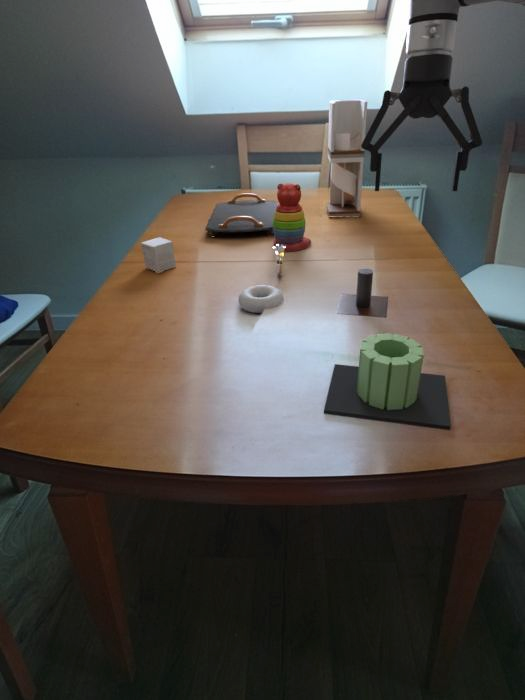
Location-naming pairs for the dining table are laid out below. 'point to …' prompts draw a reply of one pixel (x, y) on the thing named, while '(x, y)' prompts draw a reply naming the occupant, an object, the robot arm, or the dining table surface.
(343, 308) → the stacking stand
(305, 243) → the stacking bear
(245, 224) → the serving tray
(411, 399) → the sage ring
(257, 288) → the donut
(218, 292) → the dining table surface
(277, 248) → the ring
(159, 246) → the product box
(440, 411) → the rubber mat
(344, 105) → the spiral ramp tower
